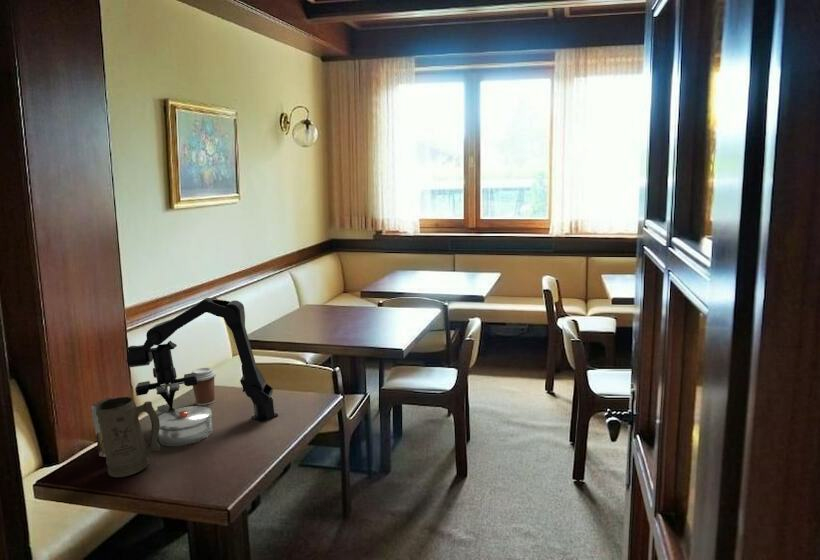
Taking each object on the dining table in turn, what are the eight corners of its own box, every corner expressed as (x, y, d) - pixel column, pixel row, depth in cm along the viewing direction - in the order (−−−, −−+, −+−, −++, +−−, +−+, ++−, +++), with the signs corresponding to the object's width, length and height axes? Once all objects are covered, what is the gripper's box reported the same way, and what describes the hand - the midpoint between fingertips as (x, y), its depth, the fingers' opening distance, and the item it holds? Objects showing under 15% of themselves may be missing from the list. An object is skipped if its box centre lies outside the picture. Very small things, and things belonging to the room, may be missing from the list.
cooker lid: (222, 416, 201) (221, 409, 201) (172, 434, 189) (171, 427, 189) (184, 402, 217) (183, 395, 216) (136, 417, 205) (135, 410, 204)
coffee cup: (206, 408, 225) (202, 375, 223) (186, 405, 228) (182, 373, 226) (224, 399, 233) (220, 367, 231) (205, 396, 237) (201, 365, 235)
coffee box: (137, 451, 192) (130, 399, 189) (120, 460, 186) (112, 407, 183) (115, 447, 196) (108, 396, 193) (97, 456, 190) (90, 404, 187)
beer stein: (106, 482, 172) (95, 412, 169) (104, 467, 182) (94, 400, 178) (166, 467, 179) (157, 399, 176) (162, 454, 189) (153, 389, 185)
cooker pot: (222, 431, 202) (221, 416, 202) (177, 450, 190) (175, 434, 189) (183, 417, 217) (181, 403, 216) (138, 434, 204) (136, 419, 204)
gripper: (194, 352, 218) (202, 395, 220) (135, 362, 213) (144, 406, 215) (193, 360, 207) (201, 406, 210) (131, 371, 202) (140, 417, 205)
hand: (171, 408), depth 210 cm, fingers closed
